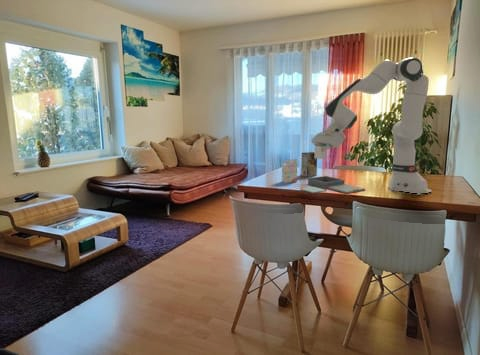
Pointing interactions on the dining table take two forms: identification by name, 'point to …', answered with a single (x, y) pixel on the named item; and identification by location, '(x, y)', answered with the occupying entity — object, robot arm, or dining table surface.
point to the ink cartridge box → (289, 171)
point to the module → (319, 151)
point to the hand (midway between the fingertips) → (319, 150)
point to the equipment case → (333, 184)
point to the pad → (313, 189)
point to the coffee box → (308, 164)
